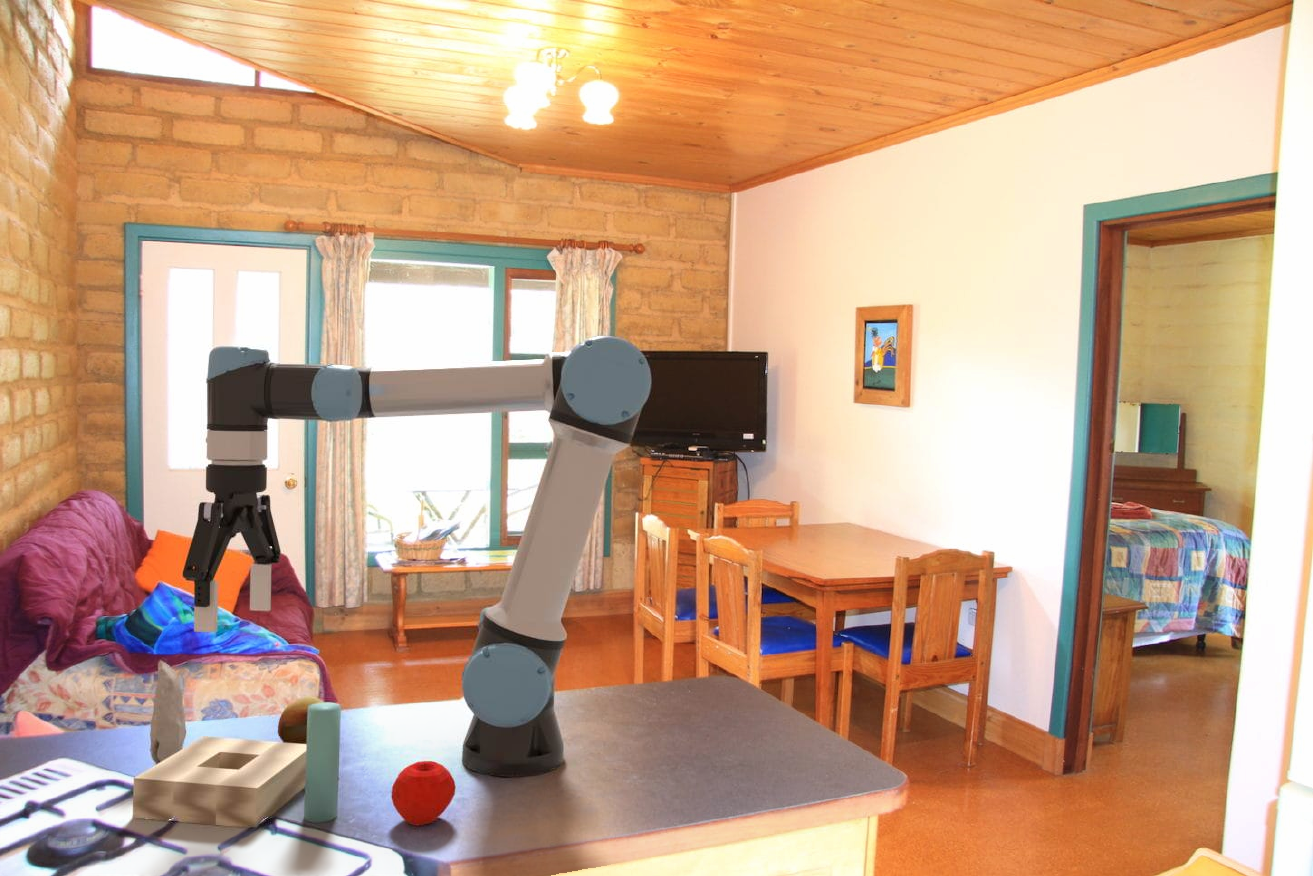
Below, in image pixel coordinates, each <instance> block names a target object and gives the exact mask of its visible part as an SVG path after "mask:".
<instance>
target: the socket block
mask: <svg viewBox="0 0 1313 876" xmlns="http://www.w3.org/2000/svg"><path fill="white" fill-rule="evenodd" d="M306 746H307V744H296V743H283V741H282V742H281V741H279V742H278V741H267V740H255V739H241V738H232V737H231V738H230V737H217V736H216V737H215V736H202V737H201V738H199V739H197V740H195V741H193V742H192V743H191V744H189V745H186V746H185V747H183V748H182V750H180V751H179V752H177V753H175V754H174V755H172V756H170V757H168V758H167V759H165V760H163V761H162V762H160V763H158V764H157V765H156V764H155V765H153V766H152V767H150V768H148V769H147V770H145V771H143V772H141V773H140V774H138V775H136V776H135V777H134V778H133V791H132V793H133V795H132V819H140V818H142V819H141V820H151V819H155V820H154V821H163V820H169V819H172V818H177V819H178V821H179V822H178V823H186V824H187V823H189V824H201V825H213V826H223V827H225V826H226V827H234V828H235V827H237V828H245V829H247V828H248V829H250V828H249V827H256V826H257V825H258V824H259V823H260V822H261V821H262V820H263V819H265V818H267V817H269V816H270V817H271V816H273V815H274V814H275V813H277V812H278V811H279V810H280V809H281V808H282V807H283V806H284V805H286V804H287V803H288V802H290V800H291V799H294V797H295V796H296V795H297V794H299V793H300V792H301V791H302V790H304V789H305V774H306ZM270 817H269V818H270ZM143 818H145V819H143ZM146 818H147V819H146Z"/></svg>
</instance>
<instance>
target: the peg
mask: <svg viewBox="0 0 1313 876" xmlns="http://www.w3.org/2000/svg"><path fill="white" fill-rule="evenodd" d="M323 702H324V701H323ZM341 711H342V706H341V704H339V703H338V702H330V701H329V702H326V701H325V702H324V703H316V704H312V705H310V706H309V707H308V718H307V746H306V774H305V788H304V805H303V808H304V809H303V818H304V820H305V821H306V822H309V823H316V824H317V823H318V824H319V823H326V822H331V821H333V820H334V819H336V818H337V816H338V803H339V800H338V798H339V797H338V796H339V777H340V776H339V771H340V748H341V747H340V746H341V745H340V744H341V720H342V719H341V718H342V716H341V715H342V712H341Z"/></svg>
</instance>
